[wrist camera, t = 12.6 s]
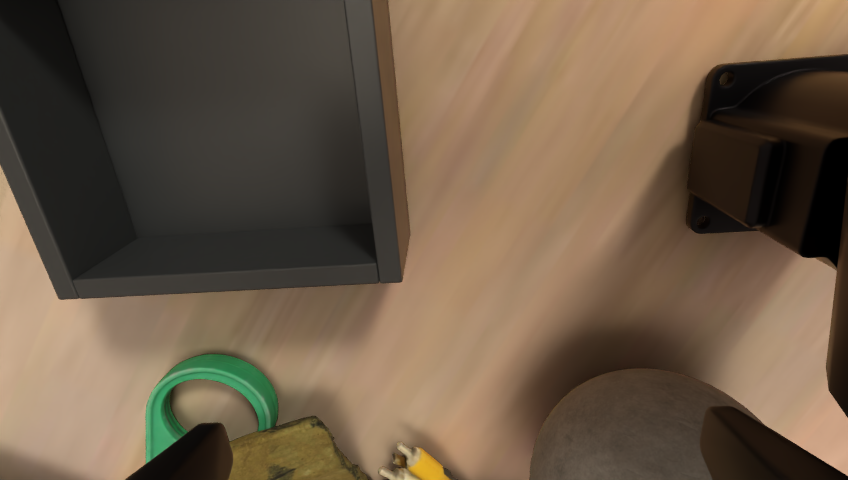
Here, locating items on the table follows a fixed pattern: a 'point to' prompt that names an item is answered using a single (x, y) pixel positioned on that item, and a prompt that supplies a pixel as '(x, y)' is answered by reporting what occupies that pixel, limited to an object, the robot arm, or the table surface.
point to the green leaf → (291, 454)
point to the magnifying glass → (211, 367)
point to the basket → (204, 143)
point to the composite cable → (415, 466)
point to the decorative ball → (628, 428)
